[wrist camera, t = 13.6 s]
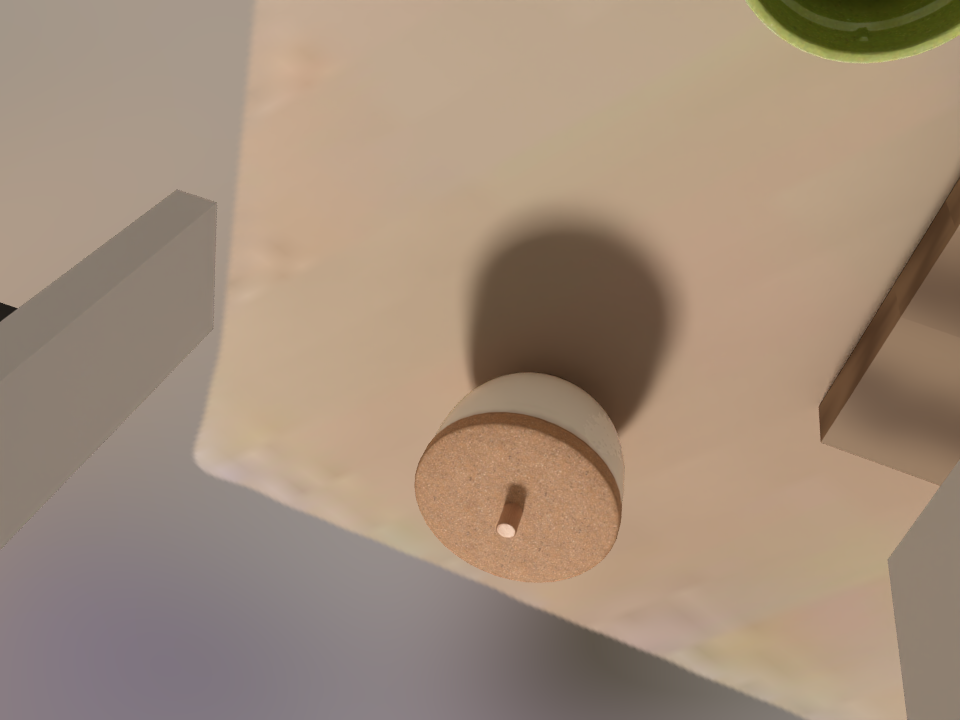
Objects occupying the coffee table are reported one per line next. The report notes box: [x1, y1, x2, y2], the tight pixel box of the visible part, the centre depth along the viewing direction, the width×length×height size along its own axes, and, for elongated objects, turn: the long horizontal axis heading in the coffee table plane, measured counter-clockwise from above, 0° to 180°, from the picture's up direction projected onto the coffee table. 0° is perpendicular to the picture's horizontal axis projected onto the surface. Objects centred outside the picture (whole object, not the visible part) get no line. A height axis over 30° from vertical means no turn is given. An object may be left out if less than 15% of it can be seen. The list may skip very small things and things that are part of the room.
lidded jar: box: [415, 372, 625, 582], centre depth 49 cm, size 11×11×9 cm
